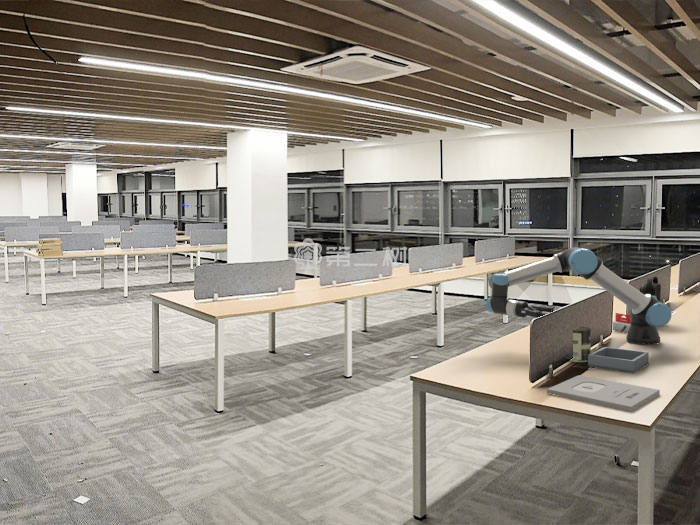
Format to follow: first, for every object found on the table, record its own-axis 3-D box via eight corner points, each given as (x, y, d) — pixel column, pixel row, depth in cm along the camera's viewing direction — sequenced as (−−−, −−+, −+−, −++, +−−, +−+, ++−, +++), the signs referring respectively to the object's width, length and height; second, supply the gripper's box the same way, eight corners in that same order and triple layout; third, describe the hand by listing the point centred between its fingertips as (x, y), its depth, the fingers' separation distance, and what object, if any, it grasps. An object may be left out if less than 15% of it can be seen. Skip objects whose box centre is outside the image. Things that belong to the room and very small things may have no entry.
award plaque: (631, 413, 192) (631, 406, 192) (547, 394, 214) (547, 389, 214) (659, 395, 209) (659, 389, 209) (578, 380, 231) (578, 375, 231)
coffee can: (588, 356, 265) (588, 326, 264) (593, 362, 255) (593, 330, 254) (564, 356, 267) (564, 326, 266) (568, 362, 257) (568, 330, 256)
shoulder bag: (655, 328, 320) (655, 278, 318) (637, 327, 326) (637, 277, 323) (663, 322, 338) (663, 274, 336) (645, 320, 343) (646, 273, 341)
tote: (604, 357, 262) (604, 346, 262) (648, 364, 249) (648, 352, 249) (588, 366, 249) (588, 354, 248) (633, 373, 236) (633, 361, 236)
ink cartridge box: (629, 334, 309) (629, 316, 308) (612, 330, 319) (612, 313, 318) (632, 333, 310) (633, 315, 309) (615, 330, 320) (615, 312, 319)
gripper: (528, 313, 288) (571, 319, 274) (505, 319, 269) (550, 326, 255) (529, 298, 287) (572, 303, 273) (506, 303, 268) (551, 309, 255)
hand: (562, 314), depth 264 cm, fingers open, 13 cm apart
